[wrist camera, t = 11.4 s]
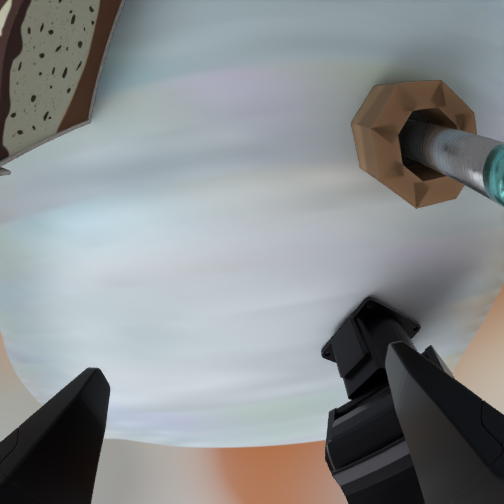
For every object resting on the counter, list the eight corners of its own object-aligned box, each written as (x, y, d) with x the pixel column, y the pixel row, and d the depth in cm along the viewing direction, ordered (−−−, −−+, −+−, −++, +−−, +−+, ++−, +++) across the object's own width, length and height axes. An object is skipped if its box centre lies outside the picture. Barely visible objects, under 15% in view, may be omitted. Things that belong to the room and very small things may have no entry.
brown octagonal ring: (462, 126, 18) (493, 134, 14) (413, 206, 20) (437, 225, 17) (388, 61, 16) (413, 56, 13) (333, 150, 19) (349, 160, 16)
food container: (63, -28, 12) (-27, -66, 3) (137, -29, 13) (62, -96, 4) (20, 131, 18) (-83, 166, 9) (85, 145, 18) (-18, 187, 9)
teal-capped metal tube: (426, 133, 18) (547, 176, 8) (408, 161, 19) (520, 224, 9) (399, 111, 17) (521, 136, 8) (381, 141, 18) (492, 189, 8)
